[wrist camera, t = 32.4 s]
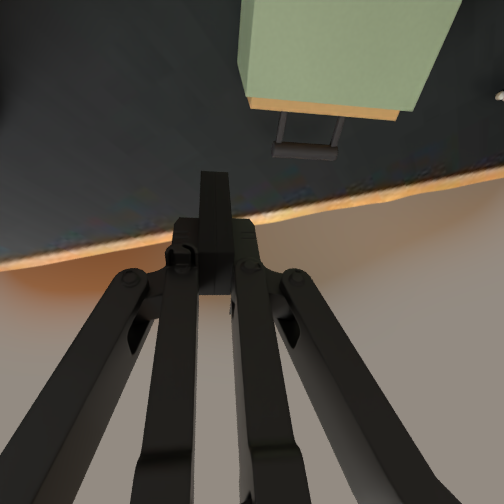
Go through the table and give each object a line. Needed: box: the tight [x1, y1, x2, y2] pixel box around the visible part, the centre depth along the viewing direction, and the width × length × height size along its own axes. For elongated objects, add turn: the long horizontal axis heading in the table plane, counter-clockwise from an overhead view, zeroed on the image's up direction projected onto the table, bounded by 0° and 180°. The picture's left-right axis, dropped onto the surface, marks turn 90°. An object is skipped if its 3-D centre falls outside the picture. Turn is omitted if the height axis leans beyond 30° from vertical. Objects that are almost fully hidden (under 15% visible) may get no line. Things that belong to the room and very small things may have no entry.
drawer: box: [248, 97, 400, 161], centre depth 27 cm, size 22×14×9 cm, turn 174°
